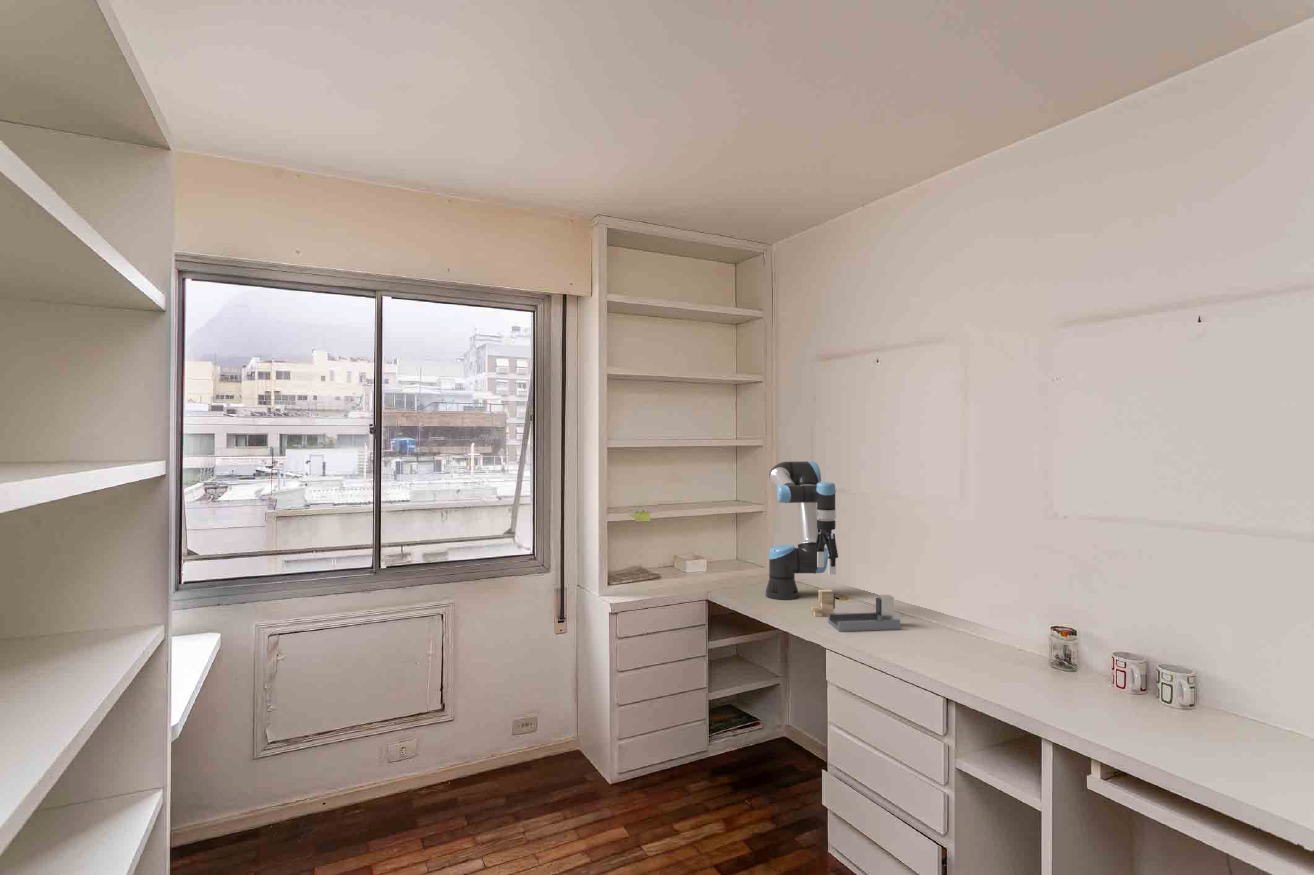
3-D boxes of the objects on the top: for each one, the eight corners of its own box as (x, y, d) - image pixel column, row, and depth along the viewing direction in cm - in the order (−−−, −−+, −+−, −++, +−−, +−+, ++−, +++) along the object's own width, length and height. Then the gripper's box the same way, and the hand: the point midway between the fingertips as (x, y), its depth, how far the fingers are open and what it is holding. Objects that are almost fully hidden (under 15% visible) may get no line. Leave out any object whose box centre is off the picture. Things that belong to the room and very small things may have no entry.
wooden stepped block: (811, 614, 280) (811, 590, 280) (831, 613, 281) (831, 589, 281) (814, 616, 276) (814, 592, 276) (835, 616, 277) (834, 591, 277)
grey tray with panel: (828, 622, 267) (828, 594, 267) (892, 620, 270) (892, 591, 270) (839, 631, 255) (839, 601, 255) (906, 629, 258) (905, 599, 258)
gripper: (807, 515, 290) (807, 564, 290) (828, 524, 265) (828, 577, 265) (824, 515, 290) (824, 564, 291) (846, 523, 266) (846, 577, 266)
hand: (826, 570), depth 278 cm, fingers open, 13 cm apart
